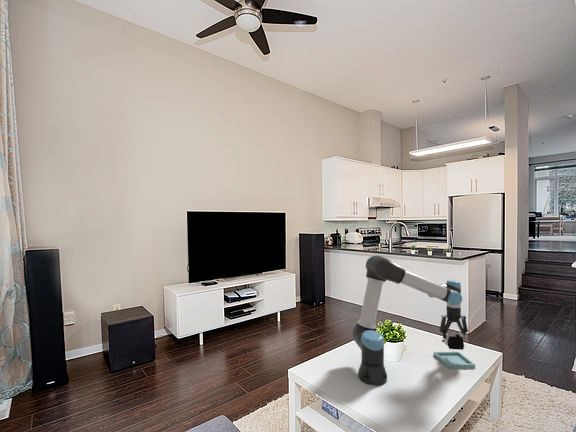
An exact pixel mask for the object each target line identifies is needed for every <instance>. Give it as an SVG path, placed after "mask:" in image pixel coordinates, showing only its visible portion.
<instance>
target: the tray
mask: <svg viewBox="0 0 576 432" xmlns="http://www.w3.org/2000/svg"><path fill="white" fill-rule="evenodd" d="M433 356H434V357H435V359H437V361H439V362H440V363H441V364H442V365H444V366H445V367H446V368H447V369H476V364H475V363H474V362H473V361H472V360H470V359H469V358H468V357H466V356H465V355H464V354H463V353H461V352H460V351H433Z"/></svg>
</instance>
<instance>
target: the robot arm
mask: <svg viewBox="0 0 576 432" xmlns="http://www.w3.org/2000/svg"><path fill="white" fill-rule="evenodd" d="M365 269H366V273H365V274H366V275H365V277H366V279H367V282H366V287H365V293H364V298H363V302H362V308H361V313H360V317H359V319H358V320H356V324H355V325H354V326H353V328H352V331H351V335H352V338H353V341H354V343H355V344H356V345H357V346H358V348H359V349H360V352H361V362H360V365H359V368H358V371H357V372H358V373H357V374H358V375H357V376H358V379H359V380H360V381H362V382H363V383H365V384H368V385H371V386H382V385H384V384H386V383H387V381H388V373H387V371H386V367H385V363H384V362H385V358H384V357H385V353H384V352H385V341H384V337H383V334H381V333H380V332H378V331H377V329H378V328H377V325H376V319H377V315H378V314H377V313H378V310H379V303H380V299H381V294H382V288H383V284H384V283H385V282H386V281H388V282H392V283H394V284H396V285H399V284H402V285H404V286H407V287H409V288H411V289H414V290H416V291H419V292H421V293H424V294H426V295H427V296H428V297H429V298H436V299H439V300H441V301H443V302H445V303H446V314H445V315H443V314H442V315H441V321H440V327H439V332H440V333H441V334H442V339H443V340H444V342H443V343H444V344H445V346H448V338H449V334H448V331H449V329H450V327H451V325H452V324H453V323H456V324H457V327H458V328H459V334H458V335H460V337H463V340H464V339H465V336H466V334H467V333H469V329H468V325H467V321H466V319H467V316H466V315H464V314H462V305H461V304H462V302H463V296H462V285H461V282H460V281H459V280H455V279H447V280H446V283H442V284H441V283H436V282H435V281H432V280H430V279H427V278H426V277H422V276H420V275H418V274H415V273H414V272H410V271H408V270H406V268H405V267H403V266H401V265H399V264H398V263H396V262H394V261H392V260H390V259H388V258H386V257H385V256H384V257H383V256H381V255H378V254H377V255H371V256H370V257H368V258H367V260H366V262H365ZM460 320H461V321H460Z"/></svg>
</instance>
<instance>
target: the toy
mask: <svg viewBox="0 0 576 432" xmlns="http://www.w3.org/2000/svg"><path fill="white" fill-rule="evenodd" d="M441 342H442V343H444V339H441ZM464 342H465V341H464V339H463V337H460V335H459V334H455V336H449V335H448V345H447V347H448V349H449V350H461V351H462V350H463V351H464V350H465V349H464V348H465V343H464Z"/></svg>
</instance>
